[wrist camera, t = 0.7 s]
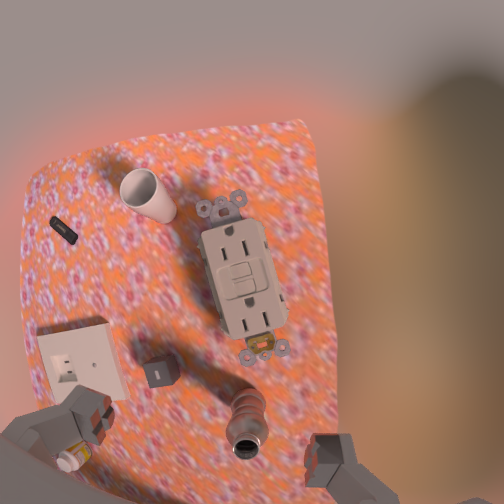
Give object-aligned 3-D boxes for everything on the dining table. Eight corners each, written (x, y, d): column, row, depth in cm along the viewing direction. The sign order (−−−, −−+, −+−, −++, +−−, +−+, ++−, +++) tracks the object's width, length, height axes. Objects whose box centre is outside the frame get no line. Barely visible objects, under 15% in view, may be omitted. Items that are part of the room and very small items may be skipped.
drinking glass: (145, 203, 58) (114, 178, 43) (175, 190, 59) (151, 160, 44) (154, 233, 58) (124, 215, 43) (185, 220, 58) (163, 197, 43)
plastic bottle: (225, 403, 53) (211, 452, 33) (245, 378, 54) (241, 421, 34) (251, 420, 53) (250, 475, 33) (272, 396, 53) (280, 444, 34)
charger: (180, 376, 54) (172, 385, 48) (159, 379, 54) (149, 388, 48) (174, 354, 55) (165, 360, 49) (153, 358, 55) (142, 364, 49)
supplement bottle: (72, 446, 51) (51, 462, 41) (78, 434, 52) (56, 450, 42) (89, 460, 51) (70, 479, 41) (96, 449, 51) (76, 467, 41)
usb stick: (80, 236, 58) (76, 235, 57) (74, 246, 58) (71, 245, 56) (56, 216, 59) (52, 214, 57) (51, 225, 59) (47, 224, 57)
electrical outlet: (252, 197, 58) (253, 182, 48) (293, 339, 56) (302, 353, 46) (194, 214, 57) (183, 203, 47) (235, 356, 56) (232, 373, 46)
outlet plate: (130, 395, 53) (126, 399, 51) (61, 400, 53) (56, 403, 50) (109, 322, 55) (103, 323, 53) (42, 335, 55) (36, 336, 52)
